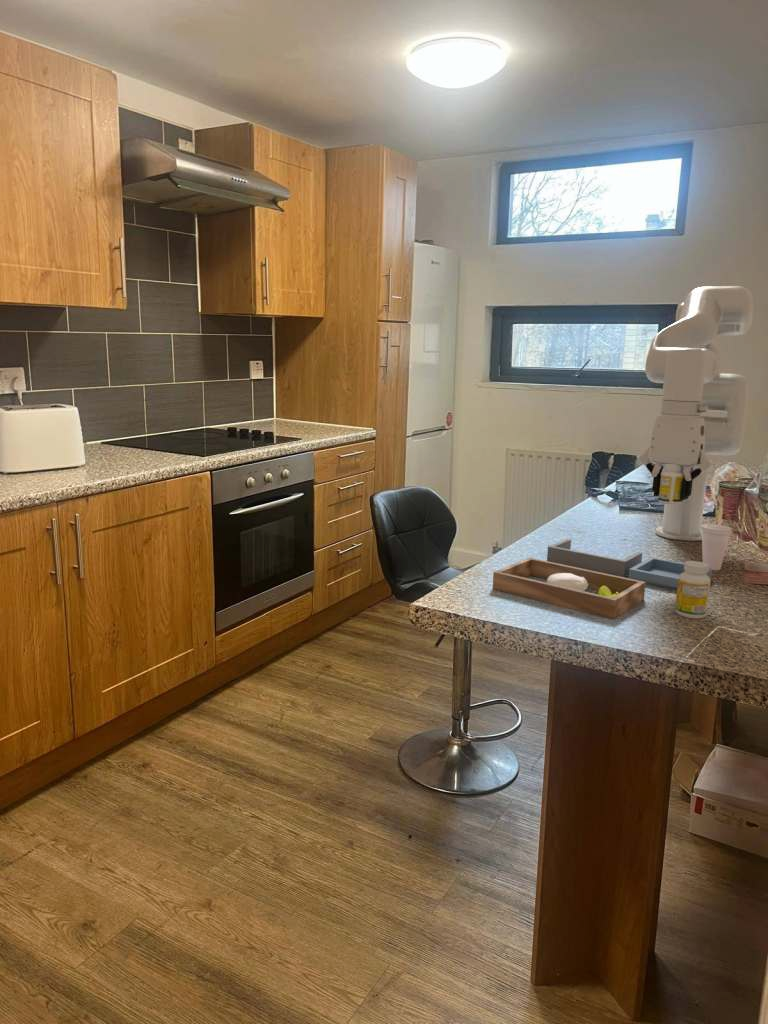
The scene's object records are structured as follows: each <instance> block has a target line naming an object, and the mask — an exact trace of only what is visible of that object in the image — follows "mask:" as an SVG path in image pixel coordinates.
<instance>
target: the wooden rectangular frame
mask: <svg viewBox="0 0 768 1024" xmlns="http://www.w3.org/2000/svg"><path fill="white" fill-rule="evenodd" d="M558 573H571V574H574V575H576V576H579V577H584V578H585V579H586V580H587V583H588V587H587V589H590V590H595V591H598V592H599V589H600V588H601V587H602V586H606V587H608V588H609V590H610V591H611V593H615V594H616V592H618V593H619V594H618V595H616V596H615V597H613V598H611V597H606V596H602V595H598V594H594V593H593V592H587V591H586V590H585V591H580V590H576V589H572V588H567V587H563V586H558V585H554V584H550V583H547V582H545V581H540V580H537V579H536V580H535V579H532V578H528V577H529V576H532V577H537V578H541V579H545V580H547V579H548V577H549V576H551V575H553V574H558ZM492 575H493V577H492V590H495V591H499V592H501V593H502V592H503V593H505V594H507V593H508V594H510V595H515V596H519V597H523V598H526V599H531V600H535V601H538V602H539V601H540V602H544V603H548V604H550V605H551V604H552V605H555V606H560V607H564V608H567V609H572V610H576V611H580V612H584V613H587V614H592V615H596V616H600V617H603V618H608V619H612V620H614V619H616V618H618V617H619V616H620V615H622V614H624V613H625V612H627V611H629V610H630V609H631V608H633V607H634V606H636V605H638V604H640V602H642V601H644V600H645V595H646V594H645V593H646V585H647V584H646V582H644V581H639V580H634V579H629V578H628V577H620V576H615V575H610V574H605V573H601V572H596V571H591V570H586V569H582V568H577V567H572V566H567V565H562V564H558V563H553V562H548V561H547V560H543V559H538V558H534V557H528V558H525V559H522V560H521V561H518V562H516V563H513V564H510V565H508V566H505V567H503V568H500V569H498V570H495V571H493V573H492Z"/></svg>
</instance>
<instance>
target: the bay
mask: <svg viewBox="0 0 768 1024" xmlns="http://www.w3.org/2000/svg"><path fill="white" fill-rule="evenodd" d="M571 545H572V539H569V538H566V539H564V540H561V541H558V542H556V543H553V544H551V545H549V546H547V555H546V561H548V562H553V563H558V564H562V565H567V566H572V567H577V568H582V569H586V570H591V571H596V572H601V573H605V574H610V575H615V576H620V577H624V578H627V576H629V569H630V568H632V567H634V566H636V565H638V564H640V563H641V562H643V560H642V558H643V552H640V551H637V552H635V553H633V554H631V555H629V556H628V557H626V558H624V559H619V558H614V557H609V556H603V555H599V554H595V553H594V554H593V553H588V552H585V551H584V552H583V551H579V550H574V549H571V547H572V546H571Z"/></svg>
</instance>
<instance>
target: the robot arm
mask: <svg viewBox="0 0 768 1024" xmlns="http://www.w3.org/2000/svg"><path fill="white" fill-rule="evenodd" d="M753 319H754V299H753V295H752V293H751V291H750V290H749V289H748V288H746V287H745V286H740V285H721V286H720V285H719V286H715V285H713V286H701V287H700V286H699V287H697V288H694V289H692V290H691V291H689V293H687V295H686V296H685V299H684V302H682V303H680V304H679V305H678V306H677V308H676V312H675V322H674V323H672V324H671V325H668V326H667V327H665V328H663V329H662V330H660V331H659V332H658V333H657V334H655V336H654V337H653V339H652V341H651V342H650V345H649V349H648V353H647V356H646V360H645V366H644V370H645V371H644V372H645V376H646V378H647V379H648V380H649V381H650V382H652V383H656V384H663V386H662V395H661V404H660V405H661V406H660V414H658V415H656V417H655V421H654V424H653V428H652V432H651V438H650V442H649V447H648V448H647V449H646V450H645V451H644V453H643V454H642V455H641V456H640V457H639V458H638V459H639V461H640V462H641V463H642V464H643V465H644V466H645V467H646V469H647V471H648V472H649V473H650V474H651V476H652V477H653V479H652V487H651V488H652V489H651V491H652V492H653V496H654V497H659V489H660V478H661V473H662V472H663V471H664V469H663V467H664V464H675V465H679V466H683V469H684V471H683V473H684V475H685V478H684V481H682V486H681V495H680V499H681V500H683V502H682V504H678V505H673V504H664V508H663V515H662V516H663V518H662V526H658V527H656V528H655V534H656V535H658V536H660V537H662V538H666V539H671V540H676V541H685V542H696V541H697V542H698V541H702V530H701V525H703V524H702V523H703V514H704V506H705V498H706V491H707V489H706V488H707V481H708V470H709V469H711V468H713V464H712V462H711V460H710V459H709V458H708V456H707V455H716V456H734V455H736V454H738V453H739V452H740V450H741V448H742V445H743V442H744V435H745V434H744V433H745V425H746V419H747V418H746V417H747V410H748V409H747V407H748V401H749V400H748V399H749V384H748V380H747V379H746V377H745V376H744V375H742V374H737V373H724V372H723V373H720V372H719V365H720V356H721V354H720V351H719V349H718V347H717V345H716V344H715V342H714V340H715V339H716V338H717V337H716V336H743V335H745V334H746V333H748V331H750V328H751V326H752V322H753ZM708 412H719V413H724V414H725V416H726V417H725V416H724V417H723V416H709V415H701V414H702V413H708Z"/></svg>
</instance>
